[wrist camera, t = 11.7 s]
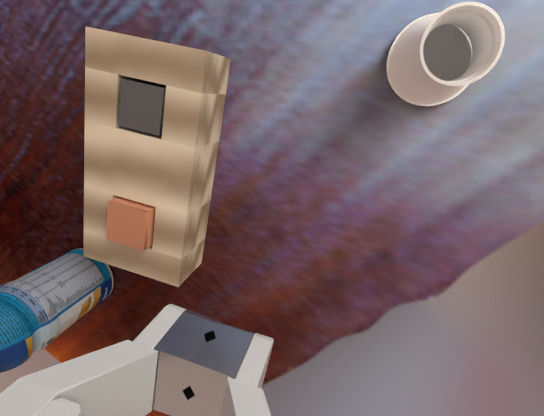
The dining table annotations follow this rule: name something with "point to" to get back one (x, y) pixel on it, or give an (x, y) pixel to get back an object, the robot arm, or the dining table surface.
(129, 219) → the terracotta plug
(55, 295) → the beverage bottle
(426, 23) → the vase
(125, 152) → the maple housing
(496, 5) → the dining table surface
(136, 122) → the charcoal plug
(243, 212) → the dining table surface
